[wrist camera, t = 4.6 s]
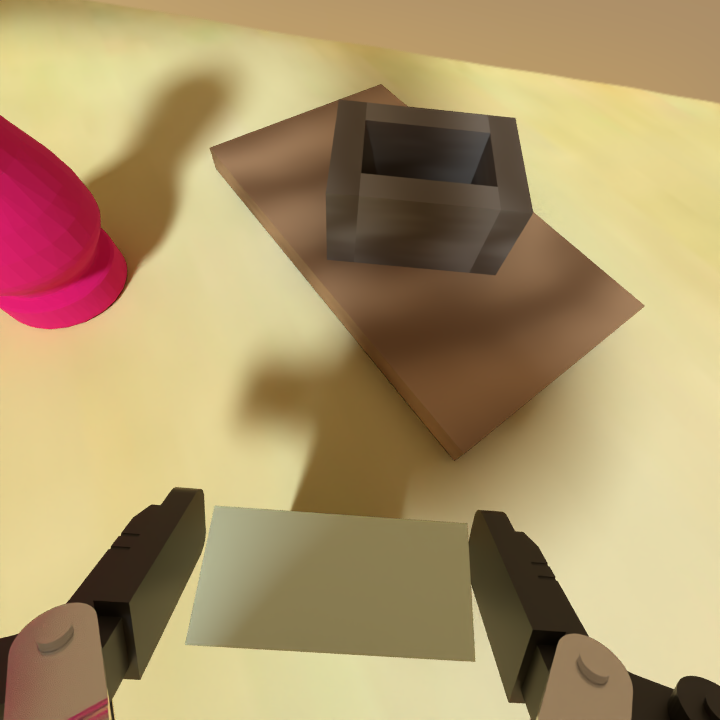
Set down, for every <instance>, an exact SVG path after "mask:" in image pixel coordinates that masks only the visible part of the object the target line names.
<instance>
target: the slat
mask: <svg viewBox="0 0 720 720" xmlns="http://www.w3.org/2000/svg"><path fill="white" fill-rule="evenodd" d="M185 645H197V646H214V647H231V648H248V649H265V650H283V651H300V652H317V653H334V654H351V655H368V656H386V657H403V658H420V659H437V660H454V661H471V662H475V648H474V630H473V613H472V595H471V578H470V561H469V543H468V526H467V523H454V522H440V521H426V520H411V519H397V518H383V517H369V516H354V515H340V514H326V513H311V512H297V511H283V510H269V509H254V508H240V507H226V506H214V511H213V516H212V520H211V525H210V530H209V534H208V539H207V544H206V549H205V553H204V558H203V563H202V567H201V572H200V577H199V581H198V586H197V591H196V595H195V600H194V605H193V610H192V614H191V619H190V624H189V628H188V633H187V638H186V642H185Z"/></svg>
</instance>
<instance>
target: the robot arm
mask: <svg viewBox="0 0 720 720" xmlns="http://www.w3.org/2000/svg"><path fill="white" fill-rule="evenodd" d="M205 535H206V526H205V506H204V493H203V490H202V489H193V488H179V487H175V488H173V489H172V490H171V492H170V493H169V494H168V496H167V497H166V499H165V500H164V501H163V503H162V504H161V505H150V506H149V507H147V508H146V509H144V510H143V511H142V512H140V513H139V514H137V515H136V516H135V517H133V519H132V520H131V521H130V522H129V524H128V525H127V526H126V528H125V529H124V530H123V531H122V533H121V536H119V537H118V538H117V539H116V540H115V542H114V543H113V544H112V546H111V549H108V551H107V552H106V553H105V555H104V556H103V557H102V558H101V560H100V561H99V562H98V564H97V565H96V566H95V567H94V569H93V570H92V571H91V573H90V574H89V575H88V576H87V578H86V579H85V580H84V582H83V583H82V584H81V585H80V587H79V588H78V589H77V591H76V592H75V593H74V595H73V596H72V597H71V598H70V600H69V601H68V602H67V603H66V604H64V605H60V606H57V607H55V608H52V609H50V610H48V611H46V612H44V613H43V614H41V615H39V616H38V617H36V618H35V619H34V620H32V621H31V622H30V623H29V624H28V625H26V626H25V627H24V628H23V629H22V630H21V632H20V633H19V634H16V635H13V636H9V637H4V638H0V720H115V714H114V706H113V700H112V699H113V697H114V695H115V693H116V691H117V689H118V687H119V685H120V683H121V682H122V680H123V679H135V680H140V679H141V677H142V675H143V673H144V671H145V669H146V667H147V665H148V663H149V661H150V658H151V656H152V654H153V652H154V650H155V648H156V646H157V644H158V642H159V640H160V638H161V636H162V634H163V632H164V629H165V627H166V625H167V623H168V621H169V619H170V617H171V615H172V613H173V611H174V609H175V607H176V605H177V603H178V600H179V598H180V596H181V594H182V592H183V590H184V588H185V586H186V584H187V582H188V580H189V578H190V576H191V574H192V572H193V569H194V567H195V565H196V563H197V561H198V559H199V557H200V555H201V552H202V549H203V546H204V542H205ZM468 543H469V561H470V578H471V585H472V588H473V591H474V594H475V598H476V601H477V604H478V607H479V610H480V613H481V617H482V620H483V623H484V626H485V629H486V632H487V636H488V639H489V642H490V645H491V648H492V651H493V655H494V658H495V661H496V664H497V667H498V670H499V674H500V677H501V680H502V683H503V686H504V689H505V693H506V696H507V699H508V702H509V703H526V706H527V709H528V712H529V715H530V720H720V686H719V685H717V684H715V683H713V682H711V681H709V680H707V679H704V678H701V677H696V676H686V677H683V678H681V679H680V680H679V682H678V683H677V685H676V687H675V689H672V688H669V687H666V686H664V685H661V684H658V683H656V682H653V681H650V680H648V679H645V678H642V677H640V676H637V675H635V674H632V673H630V672H628V671H627V670H626V668H625V667H624V665H623V664H622V663H621V661H620V660H619V659H618V658H617V657H616V656H615V655H614V654H613V653H612V652H611V651H610V650H609V649H608V648H607V647H605V646H604V645H603V644H601V643H600V642H598V641H596V640H594V639H592V638H590V637H589V636H588V634H587V633H586V631H585V629H584V627H583V625H582V624H581V622H580V620H579V618H578V617H577V615H576V613H575V611H574V609H573V608H572V606H571V604H570V602H569V601H568V599H567V597H566V595H565V593H564V592H563V590H562V588H561V586H560V585H559V583H558V581H556V580H555V576H554V574H553V572H552V570H551V569H550V567H549V566H548V565H547V561H546V560H545V558H544V556H543V554H542V553H541V551H540V549H539V547H538V546H537V545H536V544H535V543H534V542H533V541H532V540H531V539H530V538H529V537H528V536H527V535H526V534H525V533H524V532H516V531H514V529H513V527H512V525H511V523H510V521H509V519H508V517H507V515H506V514H505V513H504V512H498V511H484V510H478V511H476V513H475V516H474V521H473V525H472V529H471V534H470V538H469V542H468Z"/></svg>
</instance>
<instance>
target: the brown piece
mask: <svg viewBox="0 0 720 720" xmlns="http://www.w3.org/2000/svg"><path fill="white" fill-rule="evenodd" d="M210 151H211V154H212V157H213V160H214V164H215V167H216V169H217V170H218V172H219V173H220V174H221V175H222V177H223V178H224V179H225V180H226V181H227V183H228V184H229V185H230V186H231V188H232V189H233V190H234V191H235V192H236V194H237V195H238V196H239V197H240V199H241V200H242V201H243V202H244V203H245V205H246V206H247V207H248V208H249V210H250V211H251V212H252V213H253V215H254V216H255V217H256V218H257V219H258V221H259V222H260V223H261V224H262V226H263V227H264V228H265V229H266V230H267V232H268V233H269V234H270V235H271V237H272V238H273V239H274V240H275V241H276V243H277V244H278V245H279V246H280V248H281V249H282V250H283V251H284V253H285V254H286V255H287V256H288V257H289V259H290V260H291V261H292V262H293V264H294V265H295V266H296V267H297V268H298V270H299V271H300V272H301V273H302V275H303V276H304V277H305V278H306V279H307V281H308V282H309V283H310V284H311V286H312V287H313V288H314V289H315V291H316V292H317V293H318V294H319V295H320V297H321V298H322V299H323V300H324V302H325V303H326V304H327V305H328V306H329V308H330V309H331V310H332V311H333V313H334V314H335V315H336V316H337V318H338V319H339V320H340V321H341V322H342V324H343V325H344V326H345V327H346V329H347V330H348V331H349V332H350V333H351V335H352V336H353V337H354V338H355V340H356V341H357V342H358V343H359V344H360V346H361V347H362V348H363V349H364V351H365V352H366V353H367V354H368V356H369V357H370V358H371V359H372V360H373V362H374V363H375V364H376V365H377V367H378V368H379V369H380V370H381V371H382V373H383V374H384V375H385V376H386V378H387V379H388V380H389V381H390V382H391V384H392V385H393V386H394V387H395V389H396V390H397V391H398V392H399V394H400V395H401V396H402V397H403V398H404V400H405V401H406V402H407V403H408V405H409V406H410V407H411V408H412V409H413V411H414V412H415V413H416V414H417V416H418V417H419V418H420V419H421V420H422V422H423V423H424V424H425V425H426V427H427V428H428V429H429V430H430V432H431V433H432V434H433V435H434V436H435V438H436V439H437V440H438V441H439V443H440V444H441V445H442V446H443V447H444V449H445V450H446V451H447V452H448V454H449V455H450V456H451V457H452V458H453V460H454V461H455V460H456V459H458V458H459V457H460V456H462V455H463V454H465V453H466V452H467V451H468V450H470V449H471V448H472V447H473V446H474V445H476V444H477V443H478V442H479V441H481V440H482V439H483V438H484V437H485V436H487V435H488V434H489V433H490V432H492V431H493V430H494V429H495V428H496V427H498V426H499V425H500V424H501V423H503V422H504V421H505V420H506V419H507V418H509V417H510V416H511V415H512V414H514V413H515V412H516V411H517V410H518V409H520V408H521V407H522V406H523V405H525V404H526V403H527V402H528V401H529V400H531V399H532V398H533V397H534V396H536V395H537V394H538V393H539V392H540V391H542V390H543V389H544V388H545V387H547V386H548V385H549V384H550V383H551V382H553V381H554V380H555V379H556V378H558V377H559V376H560V375H561V374H562V373H564V372H565V371H566V370H567V369H569V368H570V367H571V366H572V365H573V364H575V363H576V362H577V361H578V360H580V359H581V358H582V357H583V356H584V355H586V354H587V353H588V352H589V351H591V350H592V349H593V348H594V347H595V346H597V345H598V344H599V343H600V342H602V341H603V340H604V339H605V338H606V337H608V336H609V335H610V334H611V333H613V332H614V331H615V330H616V329H617V328H619V327H620V326H621V325H622V324H624V323H625V322H626V321H627V320H628V319H630V318H631V317H632V316H633V315H635V314H636V313H637V312H638V311H639V310H641V309H642V308H643V307H644V305H643V304H642V303H641V302H640V301H638V300H637V299H636V298H635V297H634V296H632V295H631V294H630V293H629V292H628V291H626V290H625V289H624V288H623V287H622V286H621V285H619V284H618V283H617V282H616V281H615V280H613V279H612V278H611V277H610V276H609V275H607V274H606V273H605V272H604V271H603V270H601V269H600V268H599V267H598V266H597V265H596V264H594V263H593V262H592V261H591V260H590V259H588V258H587V257H586V256H585V255H584V254H582V253H581V252H580V251H579V250H578V249H577V248H575V247H574V246H573V245H572V244H571V243H569V242H568V241H567V240H566V239H565V238H563V237H562V236H561V235H560V234H559V233H558V232H556V231H555V230H554V229H553V228H552V227H550V226H549V225H548V224H547V223H546V222H544V221H543V220H542V219H541V218H540V217H538V216H537V215H536V214H535V213H534V212H533V209H532V204H531V199H530V193H529V188H528V183H527V177H526V172H525V167H524V161H523V156H522V151H521V146H520V140H519V135H518V130H517V124H516V119H515V118H510V117H500V116H491V115H482V114H472V113H463V112H453V111H444V110H434V109H425V108H415V107H408V106H407V105H405V104H404V103H403V102H402V101H401V100H399V99H398V98H397V97H396V96H395V95H393V94H392V93H391V92H390V91H389V90H387V89H386V88H385V87H384V86H383V85H382V84H380V85H377V86H375V87H372V88H369V89H367V90H364V91H361V92H359V93H356V94H353V95H351V96H348V97H345V98H343V99H339V100H337V101H334V102H332V103H329V104H326V105H324V106H321V107H318V108H316V109H313V110H310V111H308V112H305V113H302V114H299V115H297V116H294V117H291V118H289V119H286V120H283V121H281V122H278V123H275V124H273V125H270V126H267V127H264V128H262V129H259V130H256V131H254V132H251V133H248V134H246V135H243V136H240V137H238V138H235V139H232V140H230V141H227V142H224V143H221V144H219V145H216V146H213V147H211V148H210Z"/></svg>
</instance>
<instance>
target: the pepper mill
mask: <svg viewBox="0 0 720 720" xmlns="http://www.w3.org/2000/svg"><path fill="white" fill-rule="evenodd" d="M126 277H127V265H126V261H125V259H124V257H123V255H122V253H121V252H120V251H119V249H118V248H117V247H116V245H115V244H114V242H113V241H112V240H111V238H110V237H109V236H108V234H107V233H106V232H105V231H104V230H103V229H102V228H101V220H100V211H99V208H98V205H97V203H96V201H95V199H94V197H93V195H92V194H91V192H90V191H89V190H88V189H87V187H86V186H85V185H84V184H83V183H82V181H81V180H80V179H79V178H78V176H77V175H76V174H75V173H74V172H73V171H72V169H71V168H69V167H68V166H67V165H66V164H65V163H64V162H63V161H61V160H60V159H59V158H58V157H57V156H56V155H55V154H54V153H52V152H51V151H50V150H49V149H47V148H46V147H45V146H43V145H42V144H41V143H39V142H38V141H36V140H35V139H33V138H32V137H31V136H29V135H28V134H26V133H25V132H23V131H22V130H20V129H19V128H18V127H16V126H15V125H13V124H12V123H10V122H9V121H8V120H6V119H5V118H4V117H2V116H1V115H0V308H1V309H2V310H4V311H5V312H6V313H8V314H9V315H10V316H12V317H13V318H15V319H16V320H18V321H19V322H21V323H23V324H26V325H29V326H31V327H36V328H43V329H57V328H65V327H70V326H73V325H77V324H80V323H83V322H86V321H88V320H89V319H91V318H93V317H95V316H97V315H98V314H100V313H102V312H103V311H104V310H106V309H107V308H108V307H109V306H110V305H111V304H112V303H113V302H114V301H115V300H116V299H117V297H118V296H119V294H120V293H121V291H122V290H123V288H124V285H125V281H126Z"/></svg>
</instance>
